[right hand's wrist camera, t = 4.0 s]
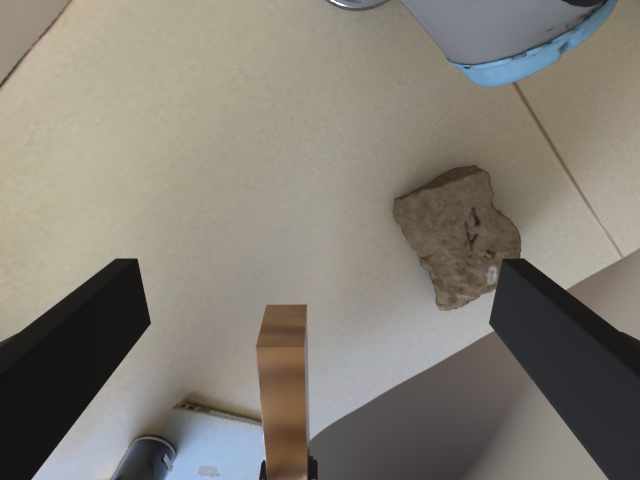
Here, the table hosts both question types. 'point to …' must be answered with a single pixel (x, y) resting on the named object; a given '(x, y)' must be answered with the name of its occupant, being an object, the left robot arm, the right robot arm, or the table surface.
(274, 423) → the bar
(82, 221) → the table surface
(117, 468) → the left robot arm
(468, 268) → the stone
